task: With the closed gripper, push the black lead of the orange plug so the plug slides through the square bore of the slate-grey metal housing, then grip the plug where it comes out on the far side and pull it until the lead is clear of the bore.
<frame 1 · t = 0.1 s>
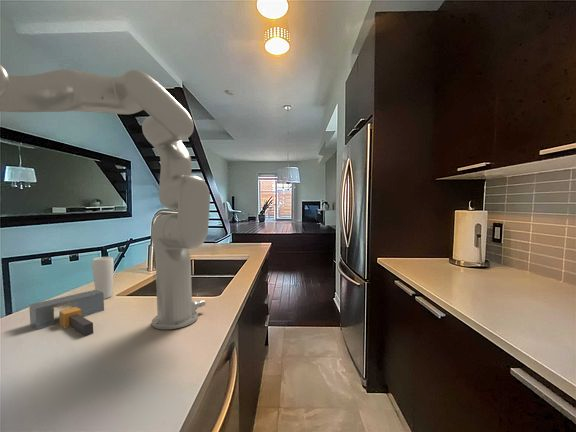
housing: (69, 317, 86), on the countertop
plug: (70, 323, 81), on the countertop
drinking glass: (104, 297, 105), on the countertop
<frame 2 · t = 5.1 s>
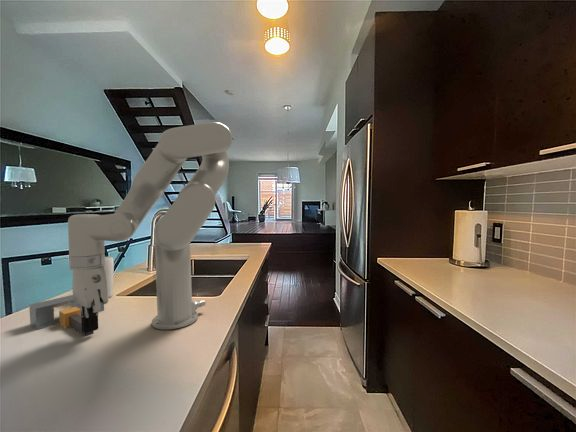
hand: (90, 330, 73), 2 cm above the countertop, tool pointing down, fingers closed
plug: (70, 323, 81), on the countertop, touching gripper
everything else where it was.
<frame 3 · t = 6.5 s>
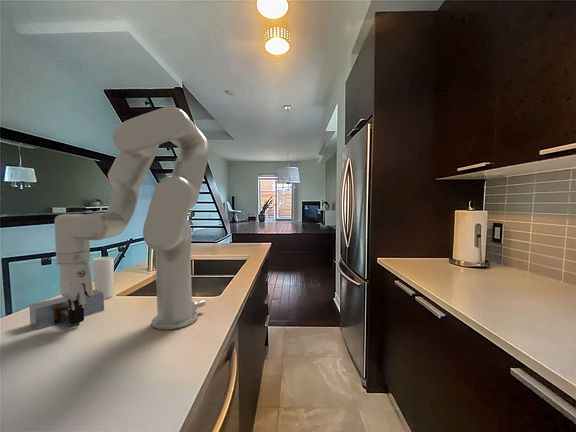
hand: (76, 321, 78), 2 cm above the countertop, tool pointing down, fingers closed
plug: (58, 316, 87), on the countertop, touching gripper
everything else where it was.
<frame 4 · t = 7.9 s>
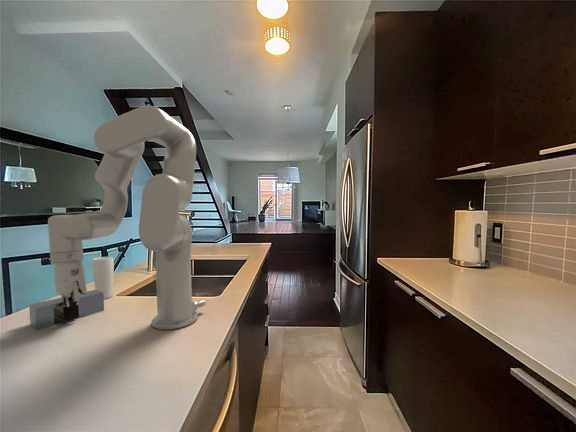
hand: (71, 318, 82), 1 cm above the countertop, tool pointing down, fingers closed
plug: (53, 313, 90), on the countertop, touching gripper
everything else where it was.
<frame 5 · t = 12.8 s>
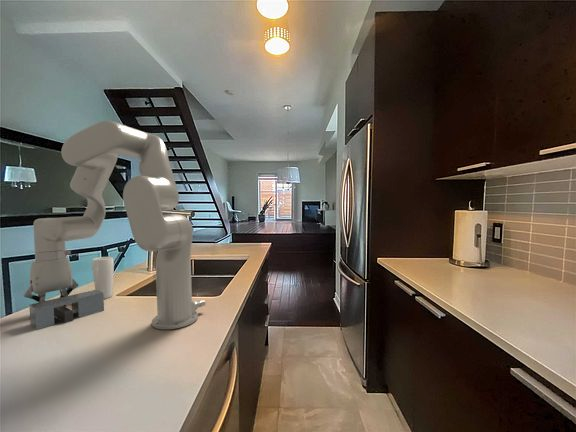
hand: (53, 311, 90), 1 cm above the countertop, tool pointing down, fingers closed on plug, 4 cm apart
plug: (53, 312, 90), on the countertop, touching gripper
everything else where it was.
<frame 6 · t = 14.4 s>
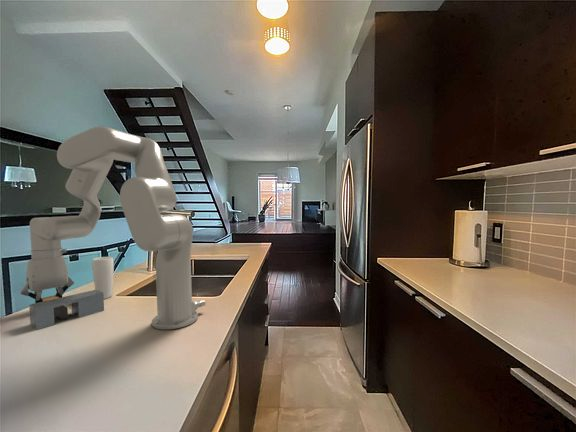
hand: (49, 308, 92), 1 cm above the countertop, tool pointing down, fingers closed on plug, 4 cm apart
plug: (49, 309, 92), on the countertop, touching gripper
everything else where it was.
when the fingers open (1 cm above the countertop, at t = 15.8 s): plug stays where it is, on the countertop.
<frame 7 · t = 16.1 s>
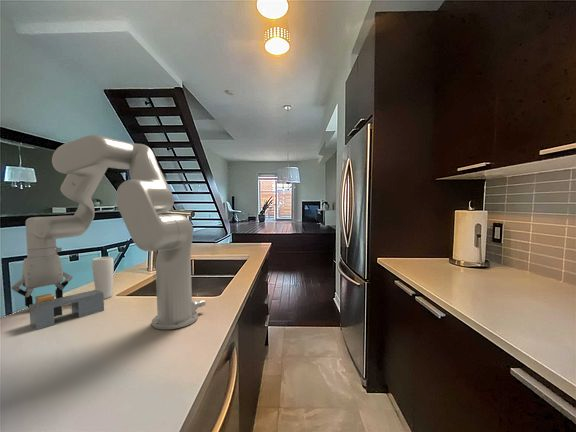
hand: (44, 303, 95), 1 cm above the countertop, tool pointing down, fingers open, 7 cm apart
plug: (45, 307, 95), on the countertop
everything else where it was.
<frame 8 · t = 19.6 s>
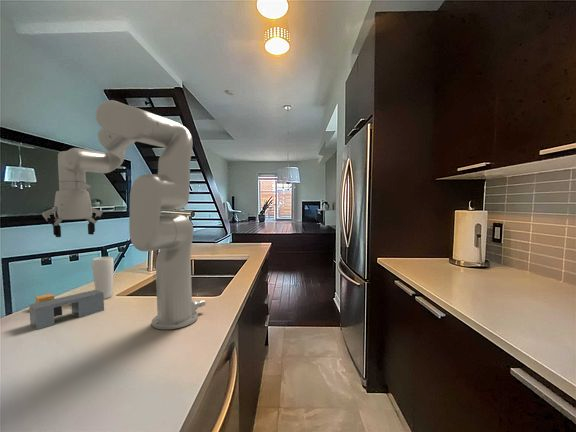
hand: (75, 235, 98), 24 cm above the countertop, tool pointing down, fingers open, 9 cm apart
nothing on the countertop moved.
at the end: plug inside the target area (1.0 cm from its centre), on the countertop; plug touching countertop; plug tilted 0° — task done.
